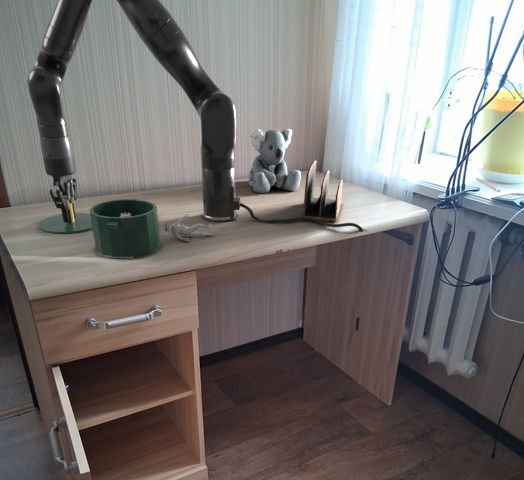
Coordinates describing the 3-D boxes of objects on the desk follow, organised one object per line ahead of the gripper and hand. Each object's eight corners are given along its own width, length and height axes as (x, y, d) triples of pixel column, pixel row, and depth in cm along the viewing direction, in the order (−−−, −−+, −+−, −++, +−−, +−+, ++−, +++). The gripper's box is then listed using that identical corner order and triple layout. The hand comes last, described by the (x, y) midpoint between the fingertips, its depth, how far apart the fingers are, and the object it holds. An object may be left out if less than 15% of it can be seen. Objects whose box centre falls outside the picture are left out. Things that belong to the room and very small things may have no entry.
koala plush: (256, 195, 171) (256, 132, 160) (238, 182, 185) (238, 124, 175) (302, 191, 176) (306, 130, 166) (282, 179, 190) (284, 122, 180)
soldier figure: (212, 244, 134) (168, 235, 128) (205, 251, 138) (162, 243, 132) (212, 217, 136) (169, 207, 130) (205, 225, 140) (163, 216, 134)
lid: (109, 217, 148) (106, 196, 145) (91, 237, 134) (87, 213, 131) (53, 216, 148) (48, 194, 145) (28, 235, 134) (23, 212, 131)
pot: (167, 234, 137) (164, 197, 131) (149, 264, 119) (145, 222, 114) (110, 232, 137) (104, 195, 132) (83, 262, 119) (76, 220, 114)
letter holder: (302, 220, 149) (305, 170, 142) (310, 201, 166) (313, 156, 158) (336, 222, 147) (341, 172, 140) (341, 203, 164) (345, 158, 156)
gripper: (62, 160, 125) (74, 229, 134) (81, 149, 137) (91, 213, 146) (32, 159, 125) (46, 228, 135) (53, 148, 137) (65, 212, 146)
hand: (70, 220), depth 140 cm, fingers closed on lid, 2 cm apart
